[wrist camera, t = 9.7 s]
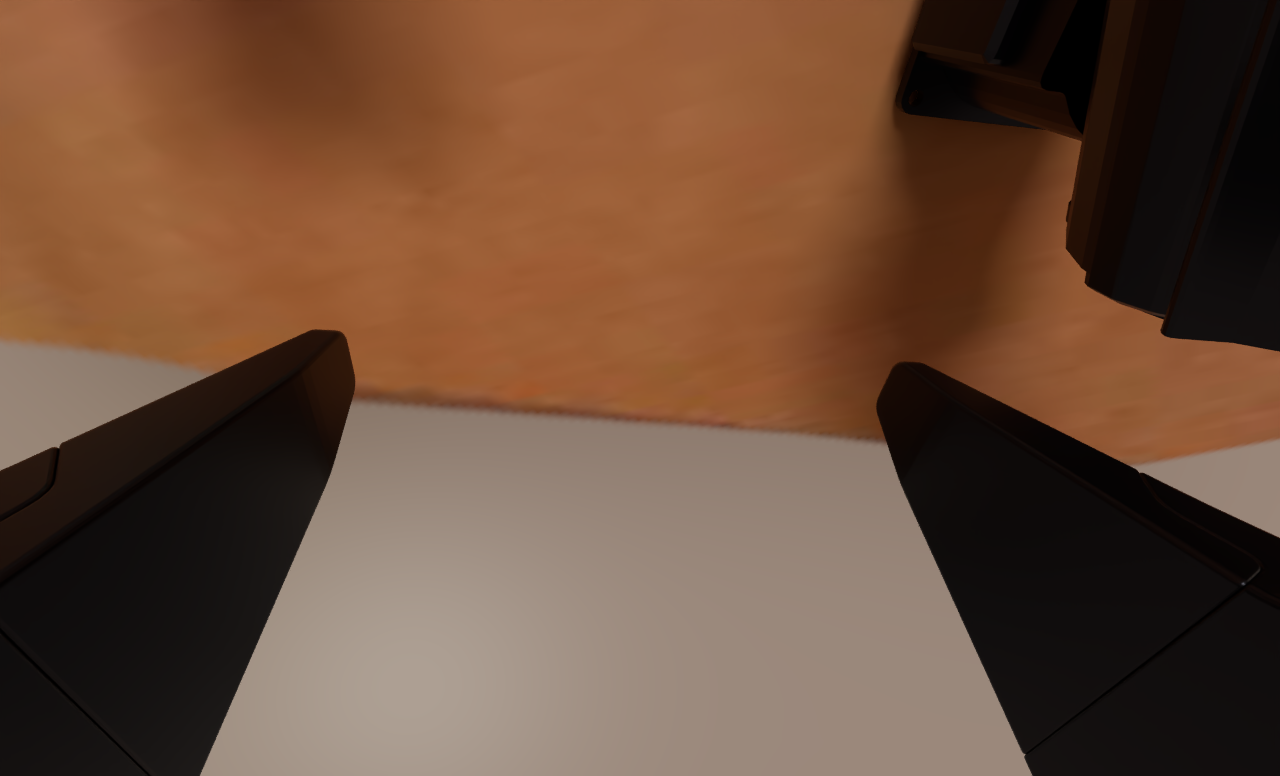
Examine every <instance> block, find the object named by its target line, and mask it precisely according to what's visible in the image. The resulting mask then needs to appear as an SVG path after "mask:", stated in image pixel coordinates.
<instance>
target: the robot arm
mask: <svg viewBox="0 0 1280 776" xmlns="http://www.w3.org/2000/svg"><path fill="white" fill-rule="evenodd" d="M912 43H913V49H912V52H911V55H910V58H909V61H908V64H907V66H906V69H905V72H904V75H903V78H902V81H901V84H900V87H899V90H898V93H897V96H896V105H897V107H898V109H899V110H900V111H903V112H905V113H908V114H911V115H920V116H929V117H937V118H946V119H955V120H964V121H973V122H982V123H991V124H999V125H1008V126H1017V127H1026V128H1035V129H1044V130H1048V131H1052V132H1055V133H1058V134H1061V135H1064V136H1067V137H1070V138H1074V139H1077V140H1080V141H1082V143H1081V149H1080V155H1079V160H1078V166H1077V172H1076V177H1075V183H1074V189H1073V194H1072V200H1071V201H1070V202H1069V204H1068V210H1067V216H1066V222H1067V228H1066V249H1067V251H1068V252H1069V253H1070V254H1071V256H1072V257H1073V258H1074V259H1075V261H1076V262H1077V263H1078V264H1079V266H1080V267H1081V268H1082V269H1083V270H1085V271H1086V277H1085V284H1086V285H1087V286H1088V287H1090V288H1091V289H1093V290H1094V291H1096V292H1098V293H1100V294H1102V295H1104V296H1106V297H1108V298H1110V299H1112V300H1114V301H1116V302H1117V303H1119V304H1122V305H1125V306H1128V307H1131V308H1134V309H1137V310H1140V311H1143V312H1145V313H1148V314H1150V315H1153V316H1156V317H1158V318H1161V319H1164V321H1163V324H1162V327H1161V330H1160V331H1161V333H1162V334H1163V335H1164V336H1167V337H1170V338H1177V339H1190V340H1203V341H1216V342H1229V343H1237V344H1242V345H1247V346H1253V347H1258V348H1264V349H1269V350H1274V351H1280V0H925V2H924V5H923V8H922V11H921V14H920V17H919V20H918V22H917V25H916V28H915V31H914V34H913V37H912ZM915 90H917V92H918V94H917V98H916V100H915V101H914V102H913V103H911V104H909V102H908V101H909V97H910V95H911V93H912V92H914V91H915ZM354 391H355V374H354V370H353V365H352V361H351V356H350V352H349V347H348V343H347V339H346V337H345V335H344V334H343V333H342V332H340V331H335V330H317V329H315V330H310V331H308V332H306V333H303V334H301V335H299V336H297V337H295V338H292V339H290V340H288V341H286V342H284V343H281V344H279V345H277V346H275V347H273V348H270V349H268V350H266V351H264V352H262V353H259V354H257V355H255V356H253V357H251V358H248V359H246V360H244V361H242V362H240V363H237V364H235V365H233V366H231V367H229V368H226V369H224V370H222V371H220V372H218V373H215V374H213V375H211V376H209V377H206V378H204V379H202V380H200V381H198V382H195V383H193V384H191V385H189V386H187V387H185V388H183V389H180V390H178V391H176V392H174V393H171V394H169V395H167V396H165V397H163V398H160V399H158V400H156V401H154V402H151V403H149V404H147V405H145V406H143V407H140V408H138V409H136V410H134V411H132V412H129V413H127V414H125V415H123V416H121V417H118V418H116V419H114V420H112V421H110V422H107V423H105V424H103V425H101V426H99V427H96V428H94V429H92V430H90V431H88V432H85V433H83V434H81V435H79V436H77V437H74V438H72V439H70V440H68V441H66V442H63V443H61V445H60V447H59V448H57V447H52V448H50V449H47V450H45V451H43V452H41V453H39V454H36V455H34V456H32V457H30V458H28V459H26V460H23V461H21V462H19V463H17V464H14V465H12V466H10V467H8V468H5V469H3V470H1V471H0V776H200V774H201V772H202V769H203V767H204V765H205V763H206V760H207V758H208V756H209V753H210V751H211V748H212V746H213V744H214V742H215V740H216V737H217V735H218V733H219V730H220V728H221V726H222V723H223V721H224V719H225V717H226V714H227V712H228V710H229V707H230V705H231V703H232V700H233V698H234V696H235V694H236V691H237V689H238V686H239V684H240V682H241V680H242V677H243V675H244V673H245V671H246V668H247V666H248V663H249V661H250V659H251V657H252V654H253V652H254V650H255V648H256V645H257V643H258V640H259V638H260V636H261V634H262V631H263V629H264V627H265V624H266V622H267V620H268V617H269V615H270V613H271V610H272V608H273V606H274V604H275V601H276V599H277V597H278V594H279V592H280V590H281V588H282V585H283V583H284V581H285V578H286V576H287V574H288V571H289V569H290V567H291V565H292V562H293V560H294V558H295V555H296V553H297V551H298V549H299V546H300V544H301V542H302V539H303V537H304V535H305V532H306V530H307V528H308V525H309V523H310V521H311V518H312V516H313V514H314V512H315V509H316V507H317V505H318V503H319V500H320V498H321V496H322V493H323V491H324V489H325V486H326V484H327V481H328V479H329V476H330V474H331V470H332V468H333V464H334V461H335V458H336V454H337V451H338V447H339V444H340V440H341V437H342V433H343V430H344V426H345V423H346V419H347V416H348V412H349V409H350V405H351V402H352V398H353V395H354ZM876 409H877V414H878V417H879V421H880V424H881V427H882V430H883V433H884V436H885V439H886V442H887V445H888V448H889V451H890V454H891V457H892V460H893V463H894V466H895V469H896V472H897V475H898V478H899V480H900V483H901V486H902V488H903V490H904V493H905V495H906V498H907V499H908V502H909V504H910V506H911V509H912V511H913V513H914V515H915V517H916V519H917V522H918V524H919V526H920V528H921V530H922V533H923V535H924V537H925V539H926V541H927V544H928V546H929V548H930V550H931V553H932V555H933V557H934V559H935V561H936V564H937V566H938V568H939V570H940V572H941V575H942V577H943V579H944V581H945V583H946V585H947V588H948V590H949V592H950V594H951V597H952V599H953V601H954V603H955V605H956V608H957V609H958V612H959V614H960V616H961V619H962V621H963V623H964V625H965V627H966V630H967V632H968V634H969V636H970V638H971V640H972V643H973V645H974V647H975V649H976V652H977V654H978V656H979V658H980V660H981V663H982V665H983V667H984V669H985V671H986V673H987V676H988V678H989V680H990V682H991V685H992V687H993V689H994V691H995V693H996V695H997V698H998V700H999V702H1000V704H1001V707H1002V709H1003V711H1004V713H1005V715H1006V718H1007V720H1008V722H1009V724H1010V726H1011V729H1012V731H1013V733H1014V735H1015V737H1016V740H1017V742H1018V744H1019V746H1020V748H1021V750H1022V752H1023V753H1024V754H1026V755H1025V756H1024V758H1025V760H1026V763H1027V765H1028V767H1029V769H1030V771H1031V773H1032V776H1280V538H1279V537H1277V536H1274V535H1272V534H1270V533H1268V532H1266V531H1264V530H1262V529H1259V528H1257V527H1255V526H1253V525H1251V524H1249V523H1246V522H1244V521H1242V520H1240V519H1238V518H1236V517H1233V516H1231V515H1229V514H1227V513H1225V512H1223V511H1221V510H1219V509H1216V508H1214V507H1212V506H1210V505H1208V504H1206V503H1204V502H1201V501H1199V500H1198V499H1196V498H1194V497H1192V496H1189V495H1187V494H1185V493H1183V492H1181V491H1179V490H1177V489H1175V488H1173V487H1171V486H1169V485H1167V484H1165V483H1163V482H1161V481H1159V480H1157V479H1155V478H1153V477H1151V476H1149V475H1147V474H1145V473H1139V472H1138V471H1137V470H1136V469H1135V468H1133V467H1130V466H1128V465H1126V464H1124V463H1122V462H1120V461H1118V460H1116V459H1114V458H1112V457H1110V456H1108V455H1106V454H1104V453H1102V452H1100V451H1098V450H1096V449H1094V448H1092V447H1090V446H1088V445H1086V444H1084V443H1082V442H1080V441H1078V440H1076V439H1074V438H1072V437H1070V436H1068V435H1066V434H1064V433H1062V432H1060V431H1058V430H1056V429H1054V428H1052V427H1050V426H1048V425H1046V424H1044V423H1042V422H1040V421H1038V420H1036V419H1034V418H1032V417H1030V416H1028V415H1026V414H1024V413H1022V412H1020V411H1018V410H1016V409H1014V408H1012V407H1010V406H1008V405H1006V404H1004V403H1002V402H1000V401H998V400H996V399H994V398H992V397H990V396H988V395H986V394H984V393H982V392H980V391H978V390H976V389H974V388H972V387H970V386H968V385H966V384H964V383H962V382H960V381H958V380H956V379H953V378H951V377H949V376H947V375H945V374H943V373H941V372H939V371H937V370H935V369H933V368H931V367H929V366H927V365H925V364H923V363H919V362H899V363H897V364H895V365H894V366H893V368H892V370H891V372H890V374H889V376H888V378H887V380H886V382H885V384H884V386H883V388H882V390H881V393H880V395H879V397H878V399H877V405H876Z"/></svg>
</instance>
